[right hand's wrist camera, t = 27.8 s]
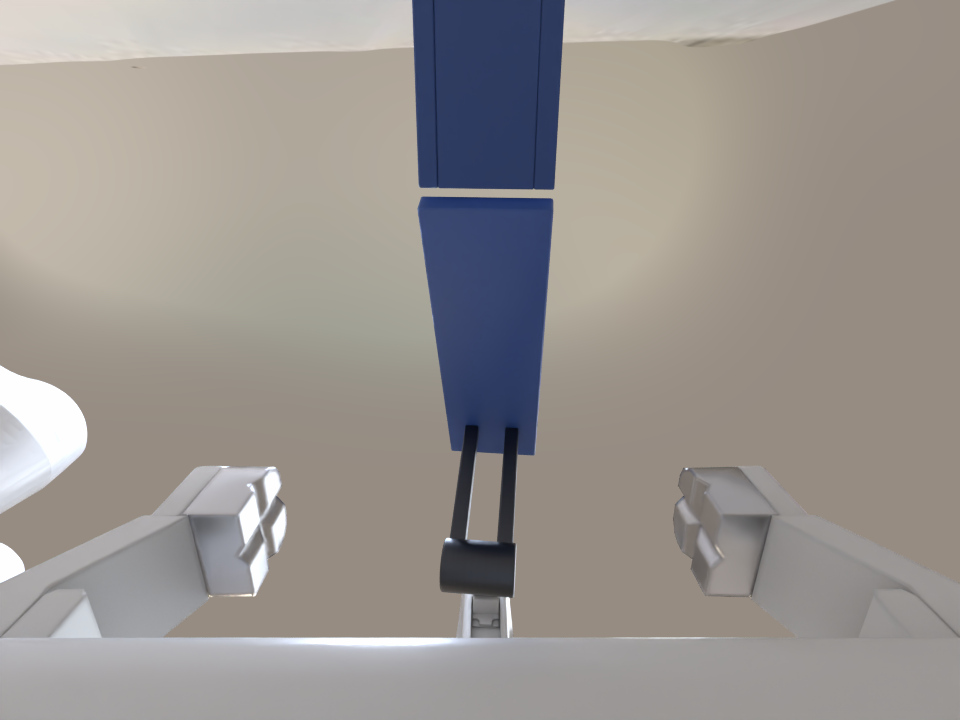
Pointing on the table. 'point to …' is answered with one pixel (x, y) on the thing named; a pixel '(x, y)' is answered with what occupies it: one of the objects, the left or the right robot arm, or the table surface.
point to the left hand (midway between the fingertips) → (486, 622)
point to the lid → (487, 358)
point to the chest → (487, 92)
